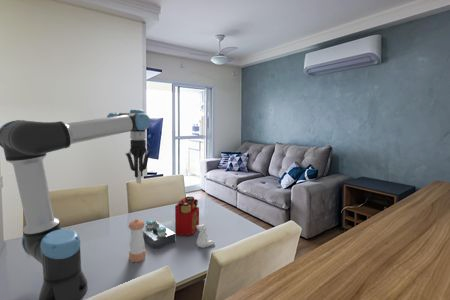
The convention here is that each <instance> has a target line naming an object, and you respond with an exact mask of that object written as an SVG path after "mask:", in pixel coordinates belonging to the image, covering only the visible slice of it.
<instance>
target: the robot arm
mask: <svg viewBox="0 0 450 300" xmlns="http://www.w3.org/2000/svg"><path fill="white" fill-rule="evenodd" d="M150 126H151V118H150V116H149V115H148V114H146V112H145V110H144V109H130V110H129V112H110V113H108V114H107V117H102V118H95V119H94V118H93V119H87V120H82V121H73V122H67V123H65V122H64V121H54V122H52V121H50V122H48V121H46V122H45V121H43V122H42V121H34V120H21V119H17V120H11V121H9V122H5V123H4V124H2V125H1V126H0V147H1V148H2V149H3V153H4V157H5V160H6V162H7V163H10V164H12V168H13V171H14V174H15V175H14V176H15V180H16V184H17V188H18V193H19V197H20V201H21V207H22V210H23V214H24V220H25V222H26V225H25V226H24V227H23V228H22V234H23V235H22V238H21V246H22V249H23V250H24V252H25V253H26V254H28V255H29V256H30V257H32V259H35V260H36V261H37V262H38V263H39V264H41V266H42V274H43V275H42V276H43V277H42V278H43V282H42V285H41V288H40V291H39V295H38V300H81V299H82V298H83V297H84V296H85V295H86V293H87V292H88V280H87V278H86V276H85V274H84V273H83V271H82V260H81V259H82V258H81V240H80V239H81V238H80V235H79V233H78V232H76V231H75V230H73V229H64V228H63V229H62V228H61V227H62V226H61V222H60V219H59V218H57V217H55V216H54V211H53V205H52V202H51V201H52V200H51V196H50V191H49V185H48V181H47V176H46V175H47V174H46V171H45V165H44V161H43V160H44V159H45V157H47V153H48V154H49V153H51V152H56V151H59V150H64V149H68V148H70V147H71V145H73V144H78V143H83V142H88V141H92V140H96V139H101V138H106V137H111V136H115V135H120V134H124V133H129V132H130V135H129V136H130V137H129V138H130V142H129V143H130V148H129V151H128V152H126V153H125V156H126V157H127V160H128V163H129V168H130V170H131V171H132V172H134V177H135V181H136V184H139V185H140V184H142V177H143V172H144V170H146V169H147V167H148V166H147V165H148V161H149V157H150V155H151V151H149V150H147V148H146V147H147V146H146V145H147V144H146V142H147V141H146V130H147V129H148V128H149V127H150ZM132 156H133V157H132Z"/></svg>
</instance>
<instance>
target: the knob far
mask: <svg viewBox="0 0 450 300" xmlns="http://www.w3.org/2000/svg"><path fill="white" fill-rule="evenodd" d="M155 221H156V220H155V219H147V220H146V221H145V222H146V224H145V225H147V228H148V229H152V228H153V225H154V224H155Z"/></svg>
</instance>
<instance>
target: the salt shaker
mask: <svg viewBox="0 0 450 300" xmlns="http://www.w3.org/2000/svg"><path fill="white" fill-rule="evenodd" d="M144 225H146V224H145V221H144V220H142V219H139V218H136V219H134V220H132V221H130V222H129V224H128V228H129V229H130V241H129V253H128V255H129V261H130V262H133V263H138V262H141V261H143V260H144V259H145V258H146V248H145V244H146V242H145V241H144V238H143V227H144Z"/></svg>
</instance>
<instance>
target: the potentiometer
mask: <svg viewBox="0 0 450 300" xmlns="http://www.w3.org/2000/svg"><path fill="white" fill-rule="evenodd" d="M157 222H158V220H155V224H154V225H153V231H157V228H159V224H157Z"/></svg>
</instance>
